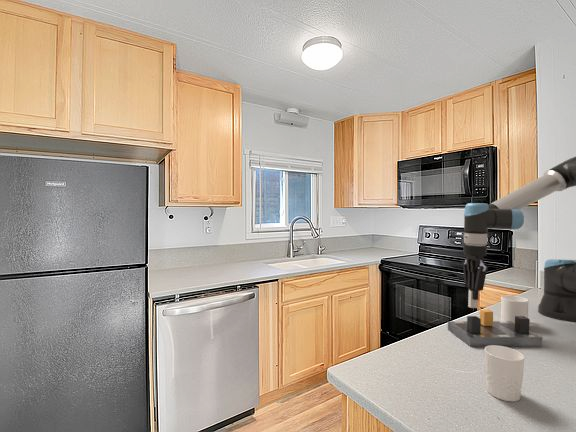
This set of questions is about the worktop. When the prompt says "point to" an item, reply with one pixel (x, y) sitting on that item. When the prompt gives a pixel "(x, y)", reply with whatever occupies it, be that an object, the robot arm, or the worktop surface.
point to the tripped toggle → (486, 317)
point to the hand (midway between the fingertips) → (472, 307)
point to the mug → (513, 307)
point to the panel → (495, 333)
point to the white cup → (504, 372)
